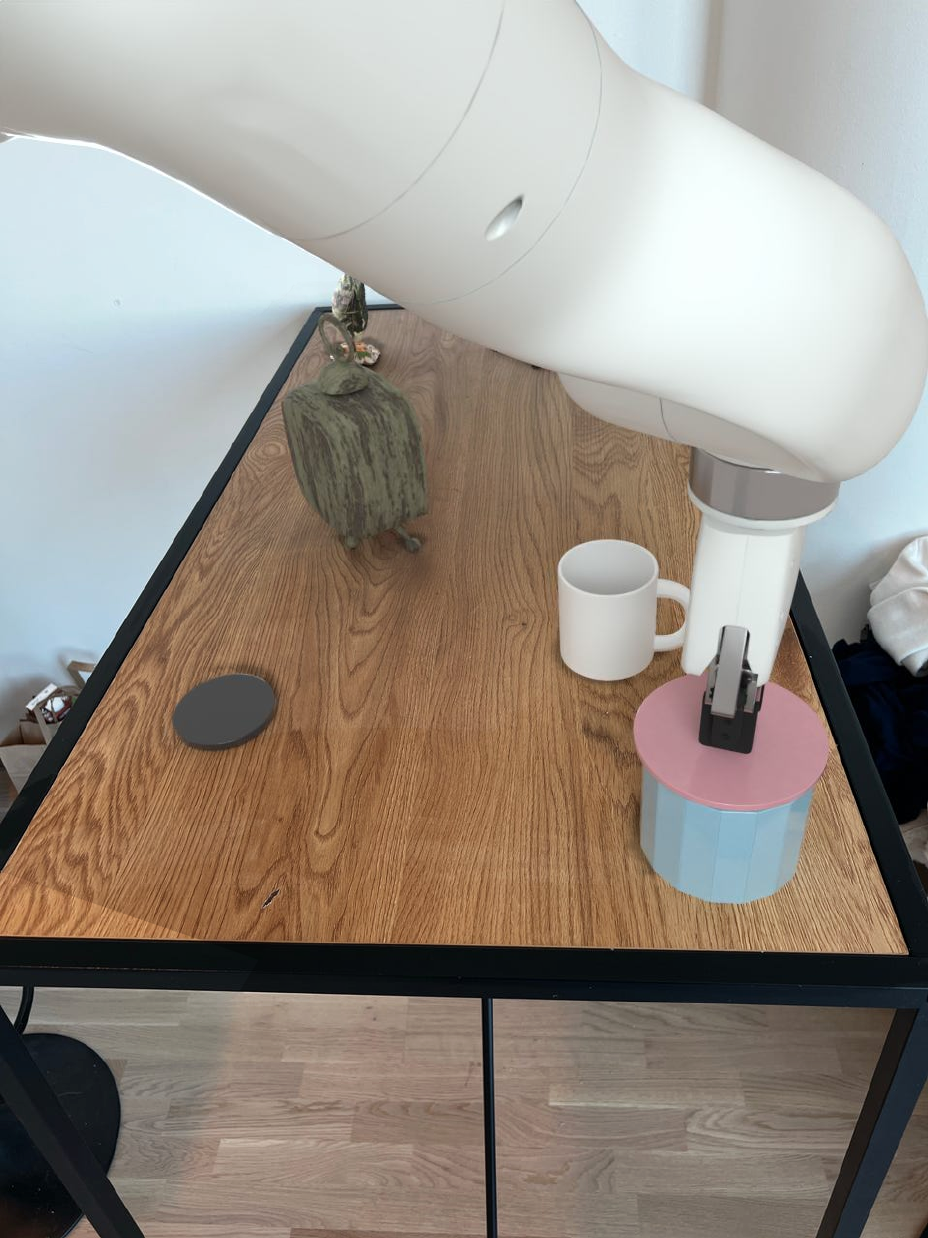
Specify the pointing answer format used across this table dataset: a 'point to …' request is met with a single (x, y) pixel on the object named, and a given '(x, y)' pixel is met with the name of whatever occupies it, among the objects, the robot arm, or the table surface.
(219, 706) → the coaster
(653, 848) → the hollow cylinder
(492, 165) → the robot arm
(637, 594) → the mug
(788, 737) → the lid
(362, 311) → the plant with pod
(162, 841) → the table surface
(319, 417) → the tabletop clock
